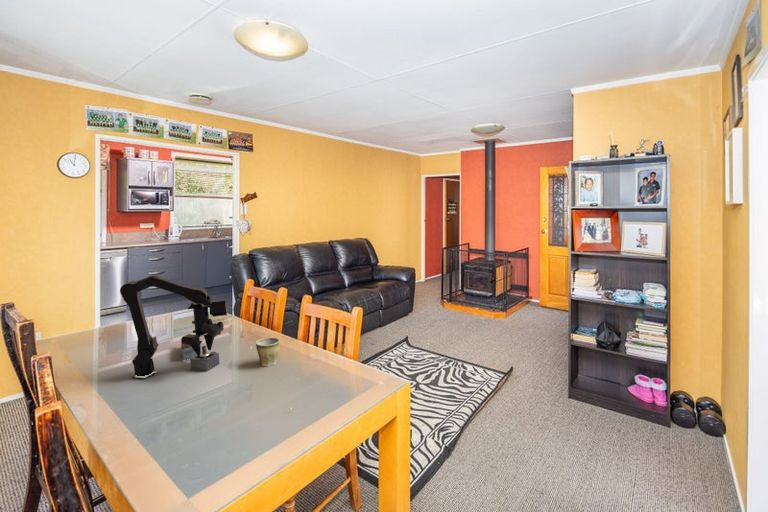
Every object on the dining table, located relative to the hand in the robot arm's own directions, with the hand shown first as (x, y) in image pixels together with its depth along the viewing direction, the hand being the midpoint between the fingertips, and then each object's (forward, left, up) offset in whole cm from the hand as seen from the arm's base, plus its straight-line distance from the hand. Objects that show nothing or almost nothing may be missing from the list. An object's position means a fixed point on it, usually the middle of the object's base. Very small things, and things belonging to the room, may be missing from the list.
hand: (204, 352), depth 166 cm
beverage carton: (+13, +18, -7) cm, 24 cm away
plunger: (0, 0, -6) cm, 6 cm away
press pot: (+1, 0, -6) cm, 6 cm away
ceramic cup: (+11, -25, -7) cm, 28 cm away
